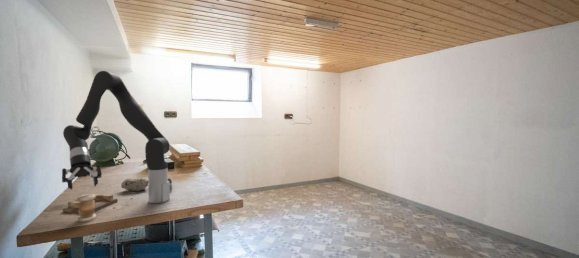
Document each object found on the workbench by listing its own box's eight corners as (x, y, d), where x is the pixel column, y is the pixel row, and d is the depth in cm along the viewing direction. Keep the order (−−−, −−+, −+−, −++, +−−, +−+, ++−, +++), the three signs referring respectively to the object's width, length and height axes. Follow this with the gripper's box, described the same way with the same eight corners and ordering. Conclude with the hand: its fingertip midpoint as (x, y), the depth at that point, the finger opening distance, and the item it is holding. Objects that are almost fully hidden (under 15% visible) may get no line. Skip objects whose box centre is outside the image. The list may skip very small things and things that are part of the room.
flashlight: (162, 186, 163) (162, 177, 163) (171, 185, 165) (171, 177, 165) (162, 192, 149) (162, 183, 149) (172, 191, 152) (172, 182, 151)
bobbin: (99, 216, 113) (99, 194, 113) (87, 222, 107) (86, 198, 106) (86, 215, 114) (86, 193, 113) (73, 221, 108) (73, 198, 107)
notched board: (117, 201, 133) (117, 194, 132) (90, 213, 117) (90, 204, 116) (92, 200, 134) (92, 193, 134) (62, 211, 118) (62, 203, 118)
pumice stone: (121, 194, 144) (120, 179, 144) (121, 193, 153) (120, 179, 154) (149, 189, 151) (148, 176, 152) (148, 188, 161) (147, 176, 162)
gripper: (60, 155, 117) (63, 184, 109) (99, 152, 127) (103, 179, 119) (60, 165, 121) (62, 194, 113) (97, 161, 131) (102, 188, 123)
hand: (83, 186), depth 116 cm, fingers open, 8 cm apart
